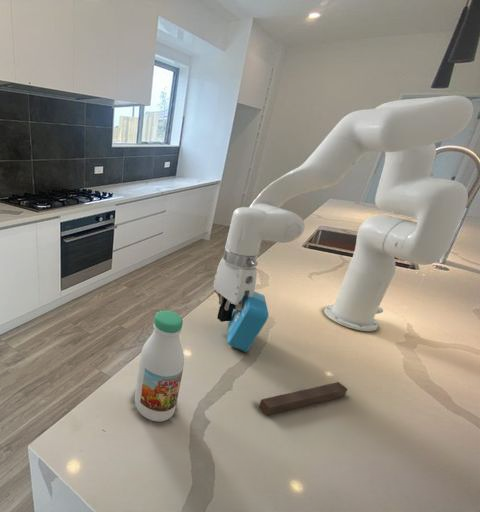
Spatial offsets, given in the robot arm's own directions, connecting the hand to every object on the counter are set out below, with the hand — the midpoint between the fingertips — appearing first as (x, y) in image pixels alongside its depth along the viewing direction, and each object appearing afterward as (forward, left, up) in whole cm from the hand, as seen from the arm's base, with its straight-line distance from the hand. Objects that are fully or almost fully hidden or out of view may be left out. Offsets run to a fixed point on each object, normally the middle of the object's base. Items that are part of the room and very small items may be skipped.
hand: (223, 319), depth 81 cm
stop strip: (0, +25, -3) cm, 25 cm away
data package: (-1, +5, -3) cm, 5 cm away
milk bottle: (+30, +19, -3) cm, 36 cm away
